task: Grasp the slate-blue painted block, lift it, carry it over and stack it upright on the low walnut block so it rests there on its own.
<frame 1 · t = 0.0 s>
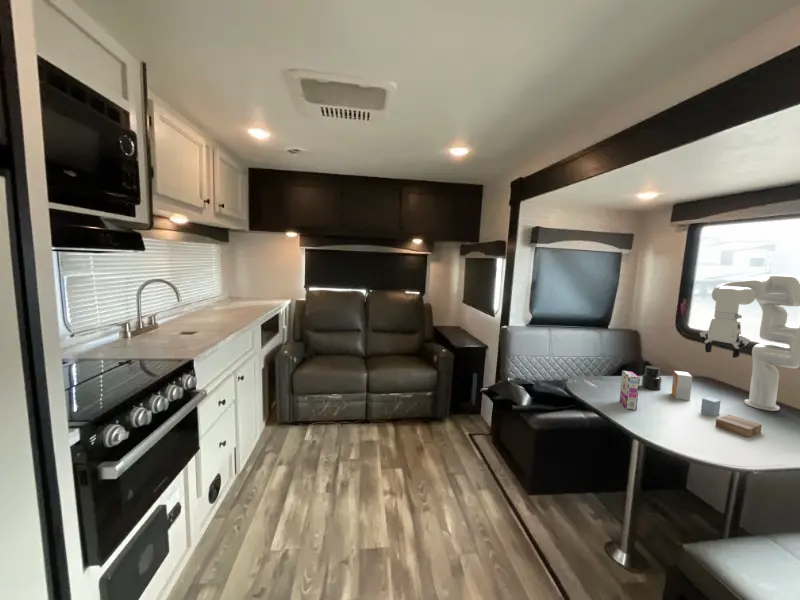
hand: (721, 354, 159), 31 cm above the table, fingers open, 9 cm apart
walnut block: (737, 430, 156), on the table
candy bar box: (628, 406, 180), on the table
slate block: (709, 413, 172), on the table
ink bottle: (650, 388, 206), on the table
small box: (680, 397, 193), on the table
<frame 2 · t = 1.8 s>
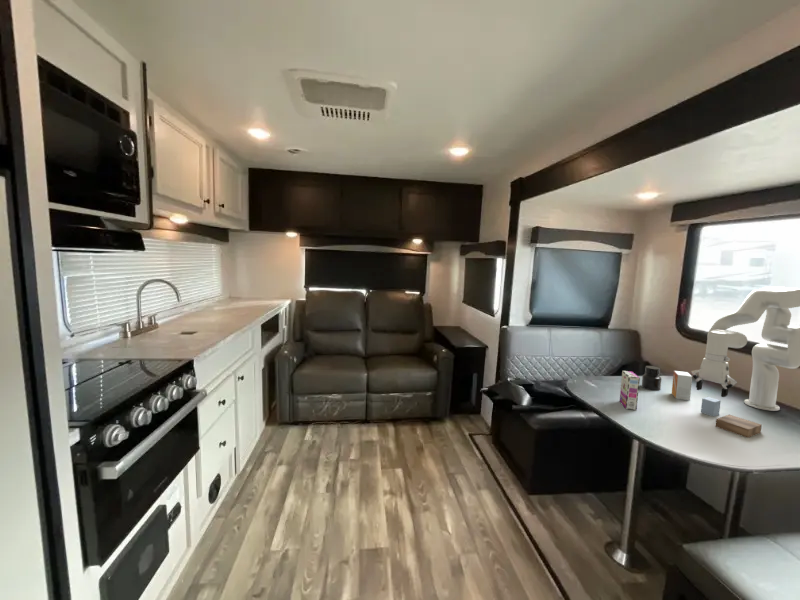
hand: (711, 393, 171), 10 cm above the table, fingers open, 9 cm apart
nothing on the table moved.
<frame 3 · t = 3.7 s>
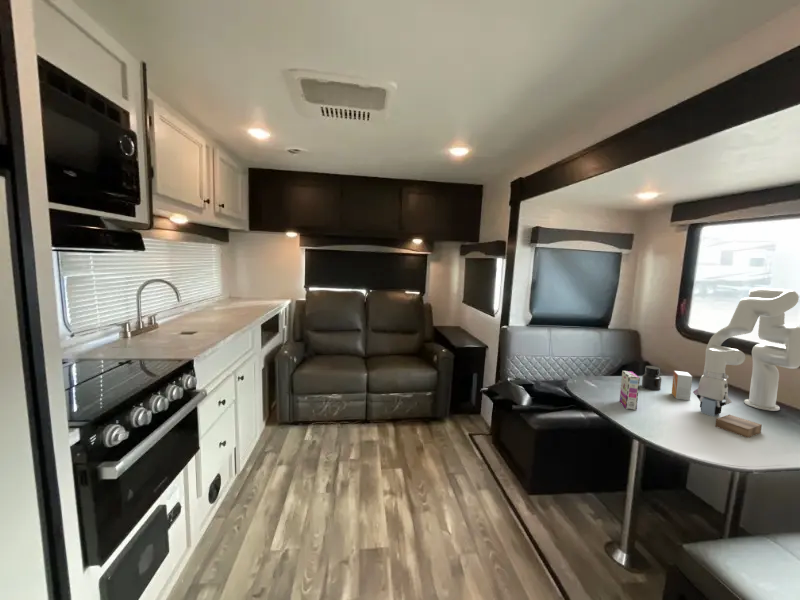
hand: (710, 411, 172), 1 cm above the table, fingers closed on slate block, 5 cm apart
slate block: (709, 413, 172), on the table, touching gripper
everything else where it was.
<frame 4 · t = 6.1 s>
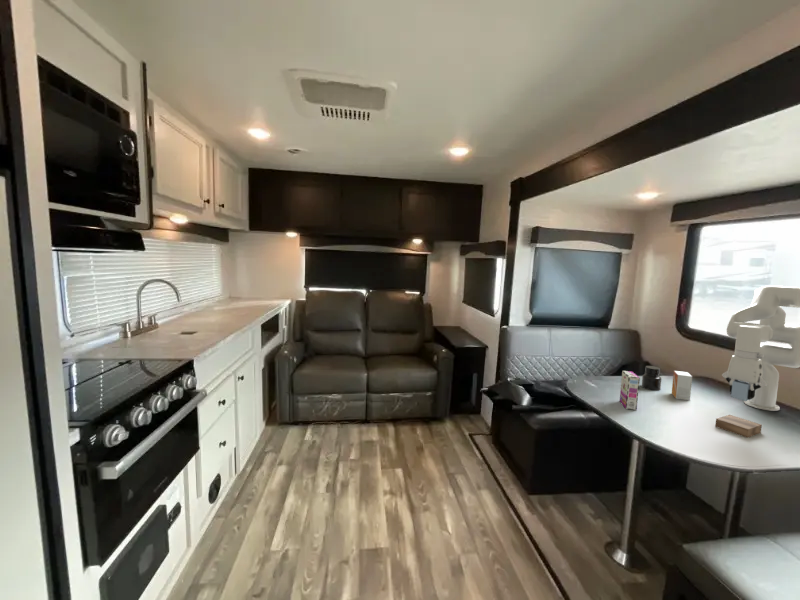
hand: (741, 395, 154), 15 cm above the table, fingers closed on slate block, 5 cm apart
slate block: (741, 398, 154), point 14 cm above the table, touching gripper
everything else where it was.
when the fingers open (6 cm above the table, at t = 8.4 s): slate block drops 1 cm, point 4 cm above the table.
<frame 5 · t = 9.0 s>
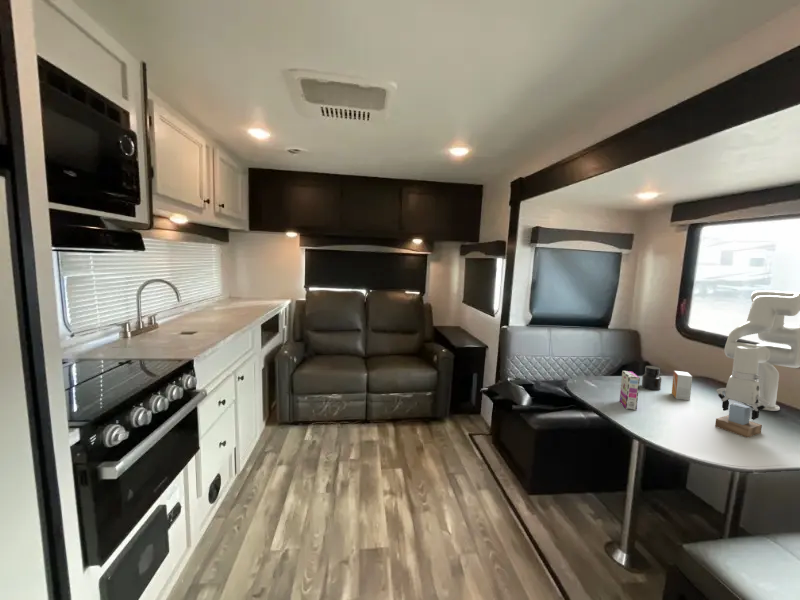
hand: (739, 414, 155), 7 cm above the table, fingers open, 9 cm apart
slate block: (738, 421, 155), point 4 cm above the table
everything else where it was.
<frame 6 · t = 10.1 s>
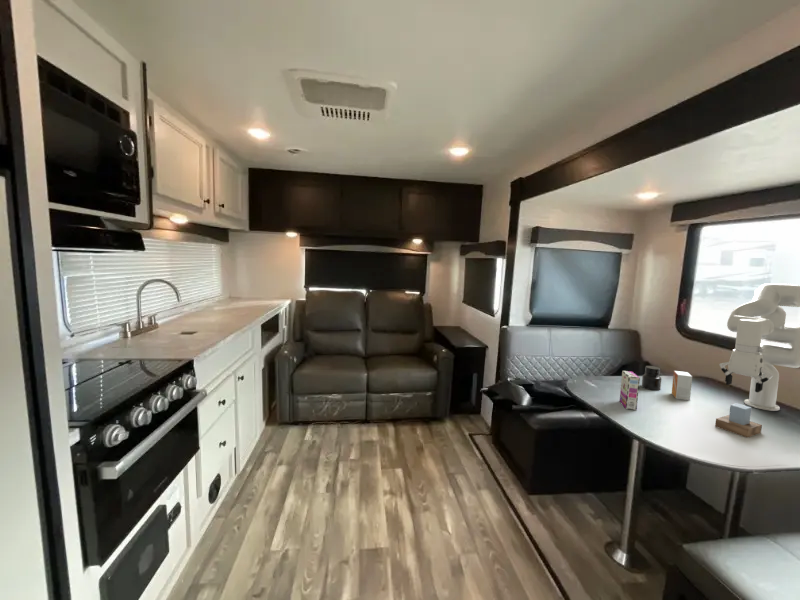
hand: (742, 387, 154), 19 cm above the table, fingers open, 9 cm apart
walnut block: (737, 430, 156), on the table, touching slate block
slate block: (739, 421, 155), point 4 cm above the table, touching walnut block
everything else where it was.
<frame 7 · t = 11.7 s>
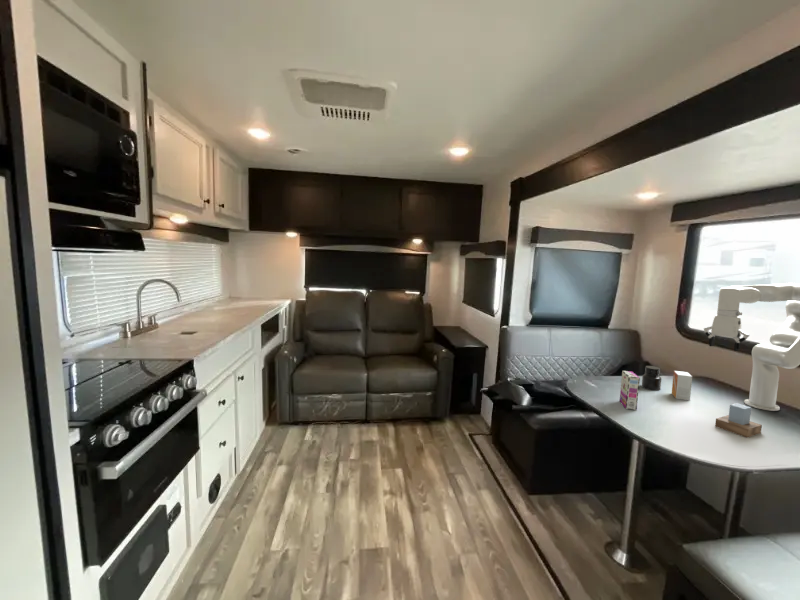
hand: (723, 348, 175), 30 cm above the table, fingers open, 9 cm apart
nothing on the table moved.
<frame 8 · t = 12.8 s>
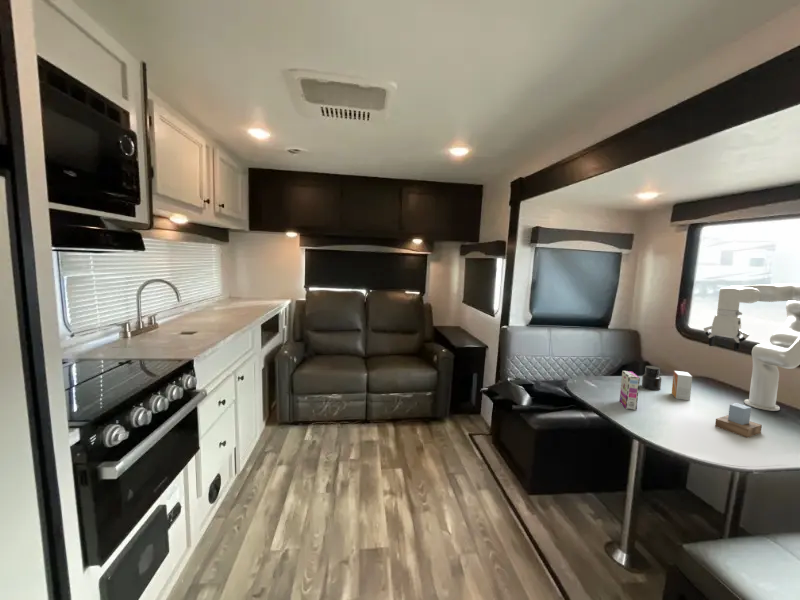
hand: (723, 348, 175), 30 cm above the table, fingers open, 9 cm apart
walnut block: (737, 430, 156), on the table
slate block: (738, 421, 155), point 4 cm above the table
everything else where it was.
at the end: slate block 0.2 cm from the walnut block (horizontally); slate block point 3.6 cm above the table; slate block tilted 1° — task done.
